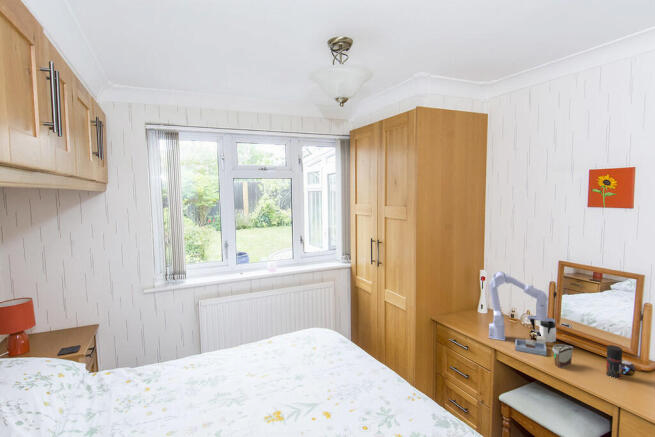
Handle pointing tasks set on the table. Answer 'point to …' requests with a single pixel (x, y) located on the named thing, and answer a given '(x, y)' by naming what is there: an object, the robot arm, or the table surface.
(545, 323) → the jar
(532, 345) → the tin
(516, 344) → the tote
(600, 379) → the table surface
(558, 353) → the food container
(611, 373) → the deodorant
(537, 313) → the robot arm
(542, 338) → the white cube
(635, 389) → the table surface
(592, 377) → the table surface
